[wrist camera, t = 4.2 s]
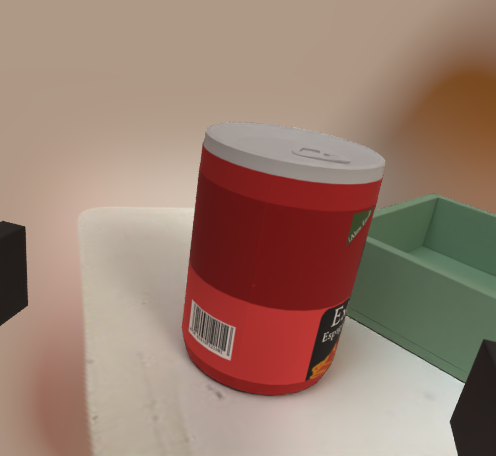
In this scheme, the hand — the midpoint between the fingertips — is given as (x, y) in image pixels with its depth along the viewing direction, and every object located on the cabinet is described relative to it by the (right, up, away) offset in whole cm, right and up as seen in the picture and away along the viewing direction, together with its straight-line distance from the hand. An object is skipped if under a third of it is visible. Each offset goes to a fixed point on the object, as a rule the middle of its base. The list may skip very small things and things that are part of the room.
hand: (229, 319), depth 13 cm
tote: (+16, -3, +18) cm, 24 cm away
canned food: (+1, -4, +11) cm, 12 cm away
